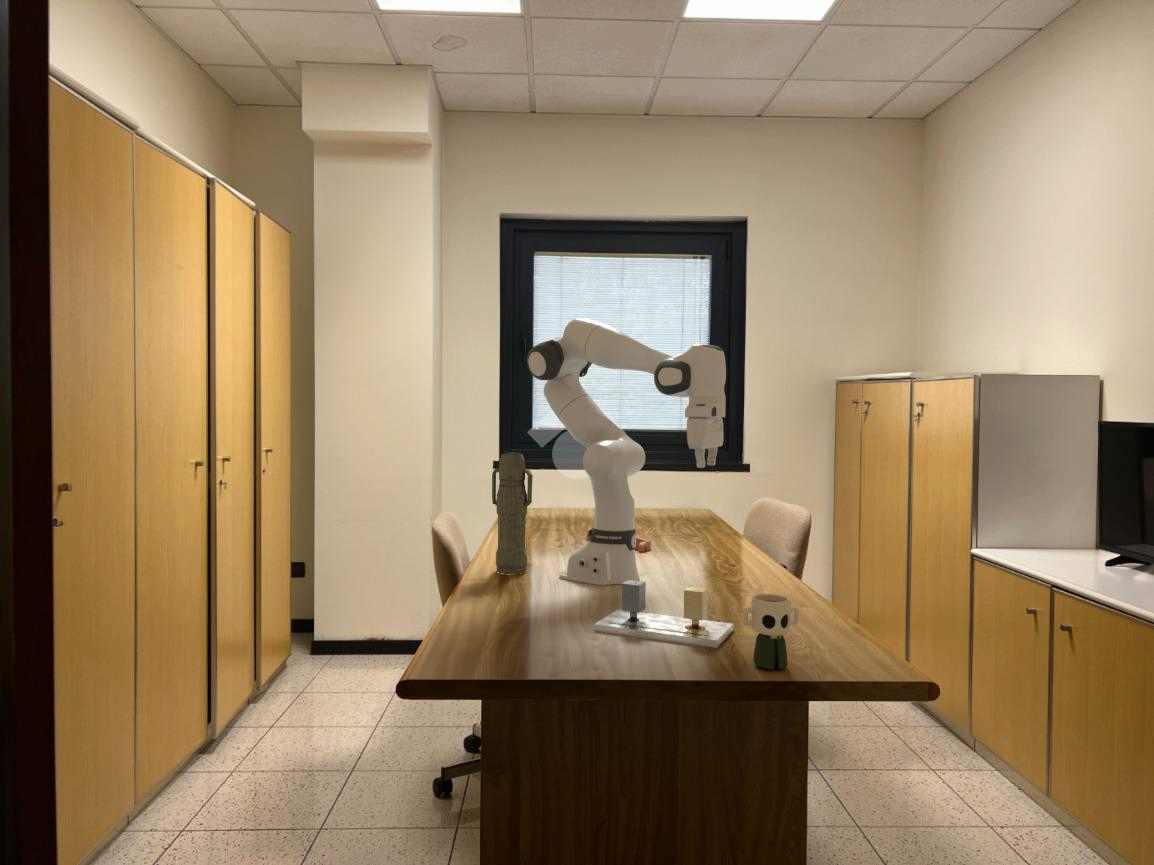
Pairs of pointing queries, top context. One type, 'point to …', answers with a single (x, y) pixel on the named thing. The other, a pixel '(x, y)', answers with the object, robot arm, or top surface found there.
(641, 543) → the crank
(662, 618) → the bolt plate
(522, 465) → the brown tall vase
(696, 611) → the wooden block peg
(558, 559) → the top surface
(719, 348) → the robot arm
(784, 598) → the character mug
